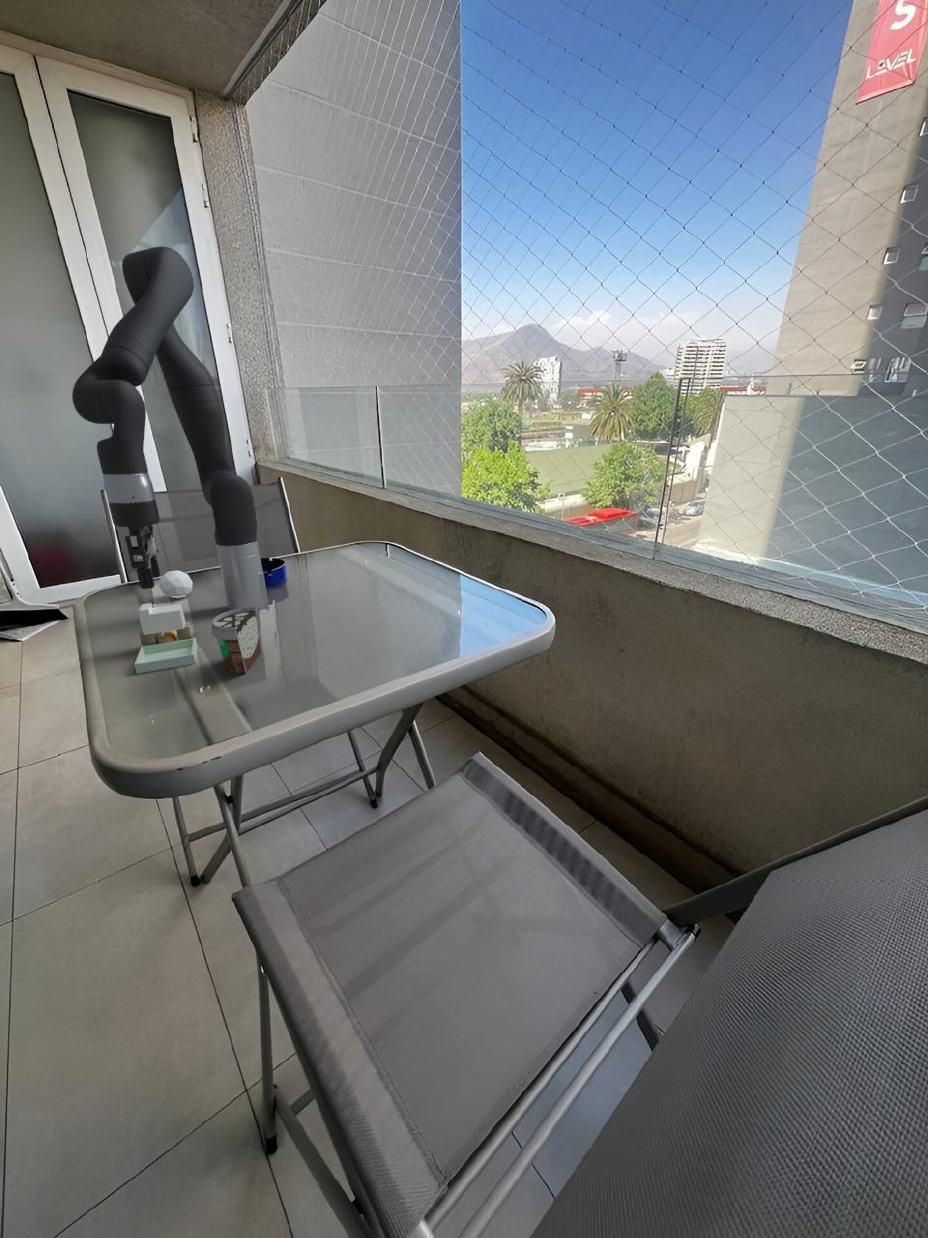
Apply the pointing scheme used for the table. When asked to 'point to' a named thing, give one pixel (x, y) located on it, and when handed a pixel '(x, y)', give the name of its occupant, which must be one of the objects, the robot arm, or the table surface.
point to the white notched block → (161, 618)
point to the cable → (169, 636)
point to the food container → (238, 638)
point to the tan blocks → (153, 639)
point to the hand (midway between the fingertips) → (151, 582)
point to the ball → (176, 583)
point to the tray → (166, 655)
